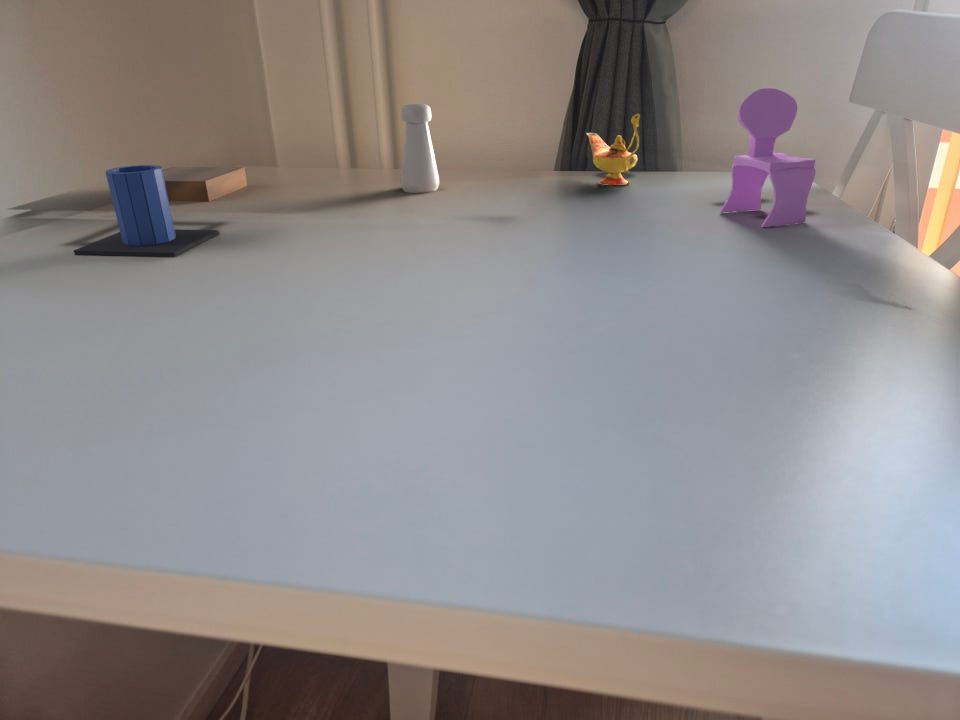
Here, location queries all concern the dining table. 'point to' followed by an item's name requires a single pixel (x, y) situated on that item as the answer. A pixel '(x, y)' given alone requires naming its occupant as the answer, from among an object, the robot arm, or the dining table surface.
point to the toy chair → (770, 161)
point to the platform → (202, 182)
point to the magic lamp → (614, 156)
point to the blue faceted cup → (141, 205)
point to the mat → (167, 249)
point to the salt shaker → (418, 151)
